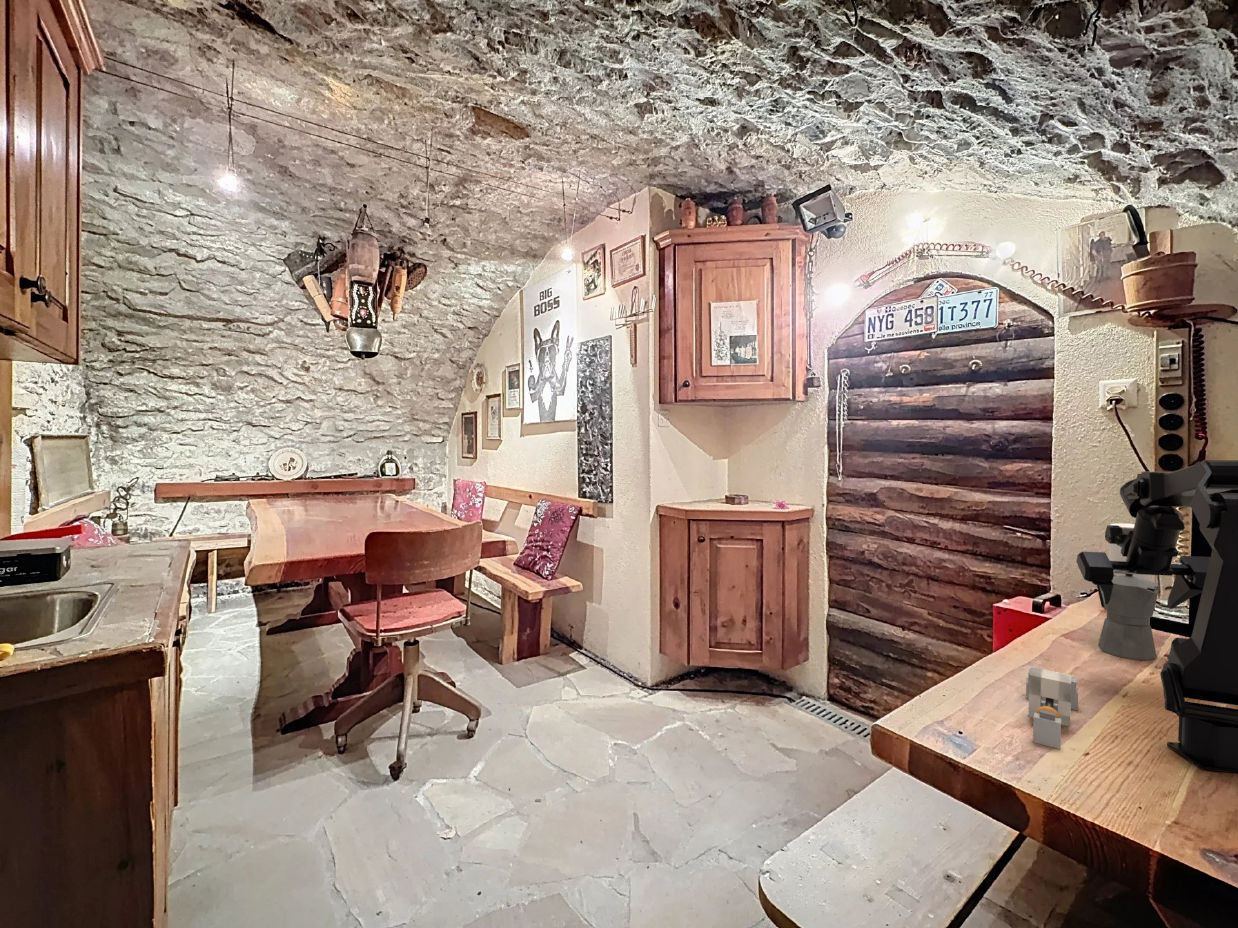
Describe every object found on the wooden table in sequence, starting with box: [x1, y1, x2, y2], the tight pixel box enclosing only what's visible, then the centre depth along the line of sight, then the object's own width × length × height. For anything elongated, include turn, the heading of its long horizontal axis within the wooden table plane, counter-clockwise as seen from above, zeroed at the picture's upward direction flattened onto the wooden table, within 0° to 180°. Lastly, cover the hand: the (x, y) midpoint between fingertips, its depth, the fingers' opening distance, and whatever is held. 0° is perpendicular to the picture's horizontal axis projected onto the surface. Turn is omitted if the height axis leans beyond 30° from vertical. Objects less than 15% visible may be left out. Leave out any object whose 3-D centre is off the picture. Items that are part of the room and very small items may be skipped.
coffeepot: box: [1096, 574, 1161, 661], centre depth 120 cm, size 15×9×18 cm, turn 174°
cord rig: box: [1025, 667, 1079, 750], centre depth 91 cm, size 19×7×5 cm, turn 141°
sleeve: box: [1027, 666, 1073, 727], centre depth 90 cm, size 4×5×7 cm
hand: (1137, 604), depth 105 cm, fingers open, 9 cm apart
